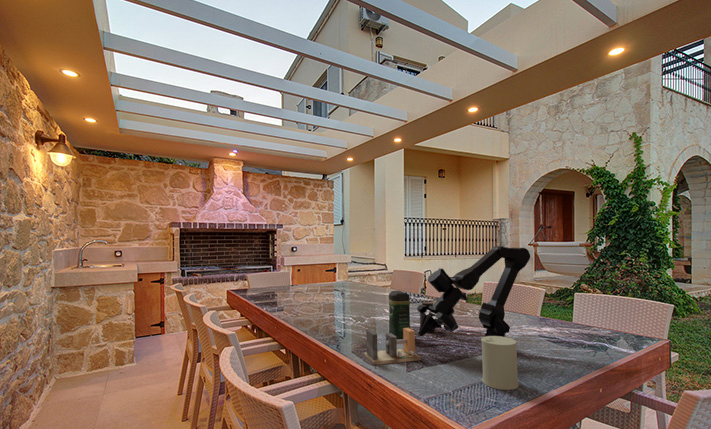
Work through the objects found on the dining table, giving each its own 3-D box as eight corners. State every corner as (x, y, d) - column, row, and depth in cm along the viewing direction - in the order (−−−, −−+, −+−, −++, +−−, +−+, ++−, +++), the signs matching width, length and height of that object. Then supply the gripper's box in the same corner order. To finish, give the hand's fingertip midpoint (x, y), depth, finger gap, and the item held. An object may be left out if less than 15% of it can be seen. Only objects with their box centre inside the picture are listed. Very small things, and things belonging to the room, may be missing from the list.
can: (476, 377, 101) (475, 334, 102) (507, 376, 102) (505, 333, 103) (491, 390, 92) (490, 343, 93) (525, 389, 93) (523, 342, 93)
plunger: (408, 349, 123) (408, 327, 124) (418, 356, 116) (417, 333, 116) (384, 351, 121) (384, 329, 121) (392, 358, 113) (392, 335, 114)
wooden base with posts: (408, 351, 126) (408, 325, 126) (420, 360, 116) (420, 332, 117) (364, 355, 121) (364, 328, 122) (373, 364, 112) (372, 335, 112)
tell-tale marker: (399, 355, 116) (399, 350, 116) (402, 356, 114) (401, 352, 115) (397, 355, 116) (397, 350, 116) (399, 357, 114) (399, 352, 114)
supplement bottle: (436, 333, 150) (435, 304, 151) (419, 332, 152) (419, 304, 153) (435, 329, 157) (435, 301, 158) (420, 328, 158) (419, 301, 159)
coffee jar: (413, 339, 141) (412, 292, 143) (394, 340, 139) (393, 292, 141) (404, 333, 151) (403, 289, 152) (386, 334, 149) (386, 289, 150)
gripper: (477, 322, 117) (448, 359, 114) (448, 311, 135) (423, 343, 132) (455, 299, 116) (425, 336, 112) (429, 291, 134) (403, 323, 130)
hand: (419, 335), depth 122 cm, fingers closed
